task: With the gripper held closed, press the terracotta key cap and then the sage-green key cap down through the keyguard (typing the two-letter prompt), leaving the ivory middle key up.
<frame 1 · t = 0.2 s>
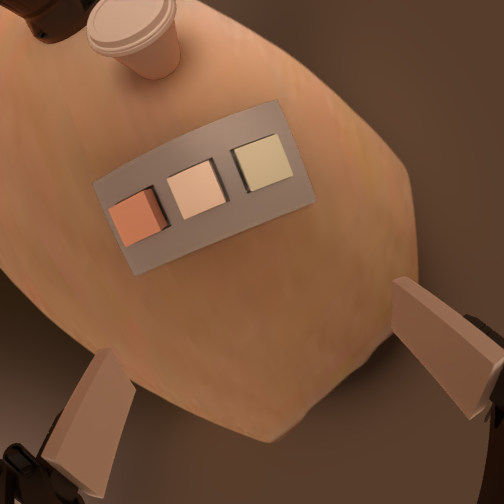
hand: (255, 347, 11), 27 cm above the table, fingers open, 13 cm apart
terracotta key: (138, 217, 31), point 5 cm above the table, slide at 0.0 cm
ivory key: (197, 189, 31), point 5 cm above the table, slide at 0.0 cm
coffee cup: (158, 60, 30), on the table
sage key: (262, 162, 31), point 5 cm above the table, slide at 0.0 cm
keypad board: (201, 186, 36), on the table
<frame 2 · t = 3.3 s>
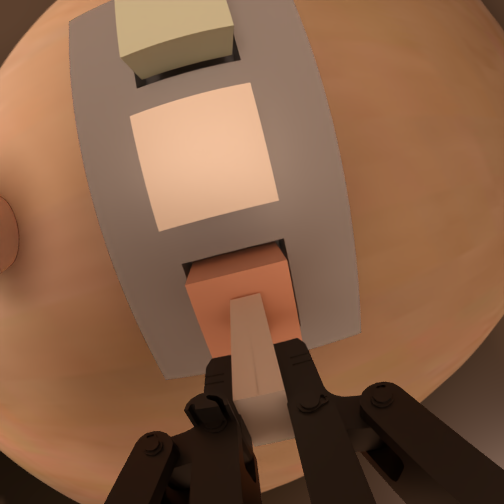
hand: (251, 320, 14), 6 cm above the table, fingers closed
terracotta key: (245, 302, 15), point 4 cm above the table, slide at 1.3 cm, touching gripper
ivory key: (205, 156, 12), point 5 cm above the table, slide at 0.0 cm
sage key: (173, 17, 9), point 5 cm above the table, slide at 0.0 cm
keypad board: (211, 160, 16), on the table
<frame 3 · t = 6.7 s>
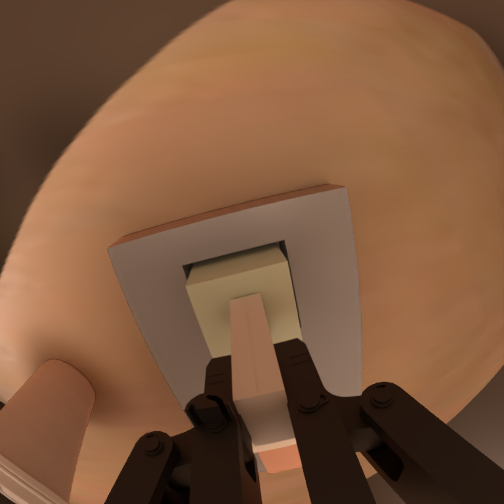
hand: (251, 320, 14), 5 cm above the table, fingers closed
terracotta key: (287, 443, 21), point 3 cm above the table, slide at 1.9 cm
ivory key: (275, 410, 16), point 5 cm above the table, slide at 0.0 cm
coffee cup: (68, 383, 21), on the table
sage key: (245, 303, 15), point 3 cm above the table, slide at 1.4 cm, touching gripper
keypad board: (266, 367, 21), on the table
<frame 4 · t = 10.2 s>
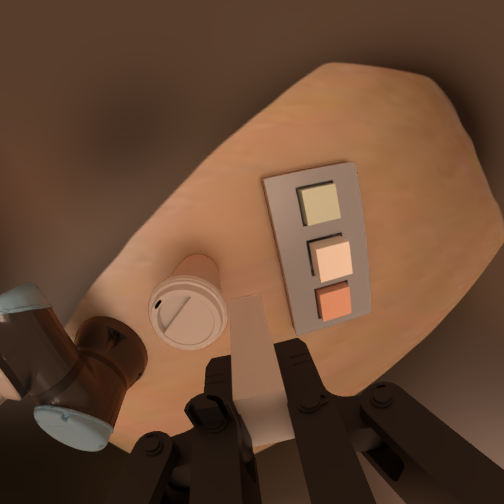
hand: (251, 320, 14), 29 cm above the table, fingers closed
terracotta key: (332, 299, 44), point 3 cm above the table, slide at 1.9 cm
ivory key: (331, 258, 39), point 5 cm above the table, slide at 0.0 cm
coffee cup: (198, 273, 44), on the table
sage key: (318, 203, 39), point 3 cm above the table, slide at 1.9 cm
keypad board: (320, 249, 44), on the table
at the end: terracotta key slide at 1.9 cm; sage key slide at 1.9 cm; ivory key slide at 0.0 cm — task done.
